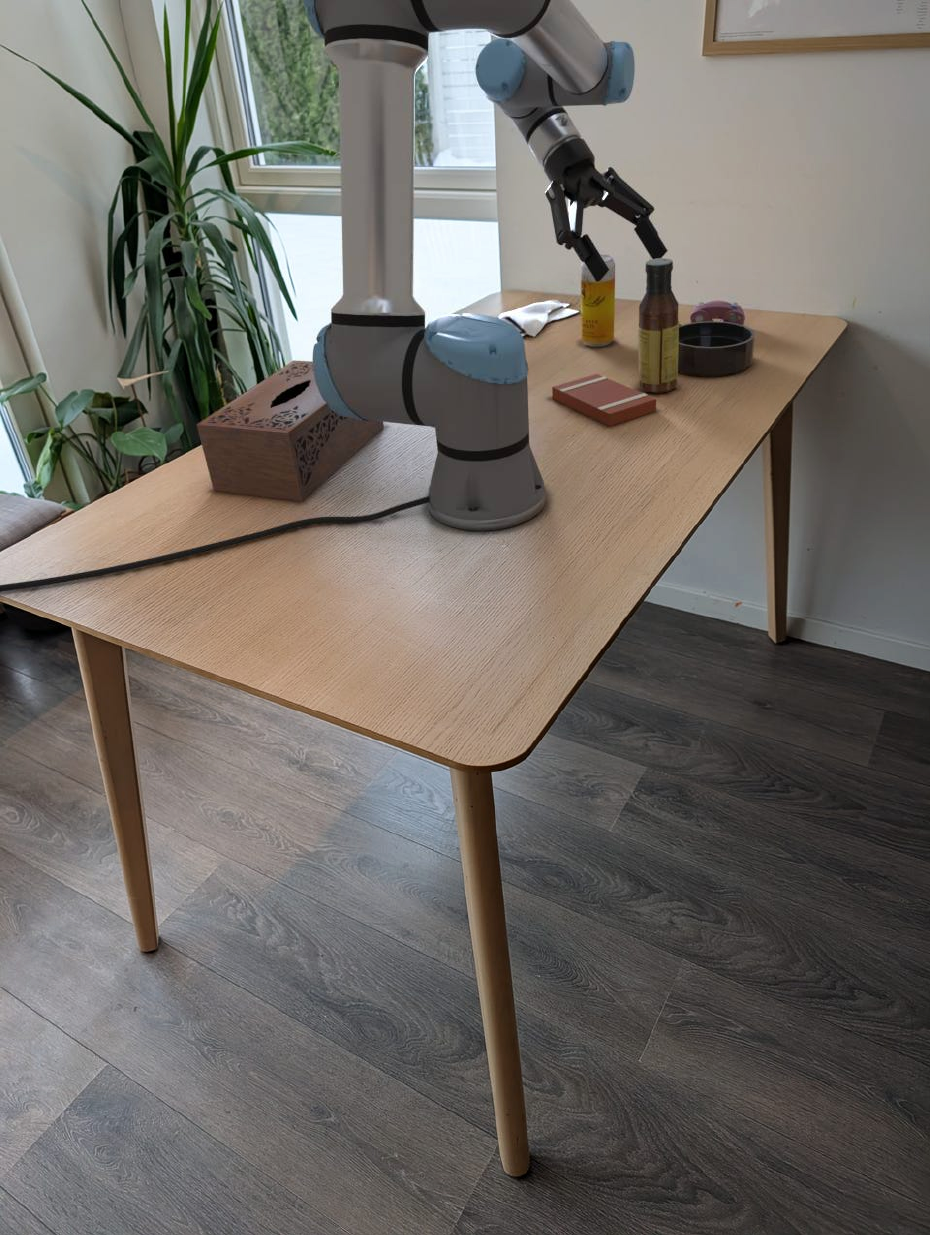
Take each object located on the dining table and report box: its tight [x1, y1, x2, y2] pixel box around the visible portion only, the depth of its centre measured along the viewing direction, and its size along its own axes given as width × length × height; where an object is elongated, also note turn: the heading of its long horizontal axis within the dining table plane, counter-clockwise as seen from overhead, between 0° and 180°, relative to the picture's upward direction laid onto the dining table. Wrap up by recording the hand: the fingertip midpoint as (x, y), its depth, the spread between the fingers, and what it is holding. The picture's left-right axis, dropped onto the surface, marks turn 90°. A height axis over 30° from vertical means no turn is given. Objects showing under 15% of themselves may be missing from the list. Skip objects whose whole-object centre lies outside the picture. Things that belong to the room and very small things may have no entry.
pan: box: [678, 320, 756, 377], centre depth 151 cm, size 14×14×5 cm
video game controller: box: [689, 300, 746, 326], centre depth 165 cm, size 10×5×7 cm, turn 73°
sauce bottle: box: [637, 257, 680, 394], centre depth 140 cm, size 7×6×20 cm
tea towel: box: [551, 373, 657, 427], centre depth 141 cm, size 9×15×2 cm, turn 30°
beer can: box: [580, 254, 616, 348], centre depth 162 cm, size 6×6×15 cm
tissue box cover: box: [196, 360, 385, 503], centre depth 131 cm, size 26×14×10 cm, turn 158°
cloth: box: [497, 299, 580, 338], centre depth 180 cm, size 26×14×2 cm, turn 142°
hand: (633, 266), depth 139 cm, fingers open, 13 cm apart
